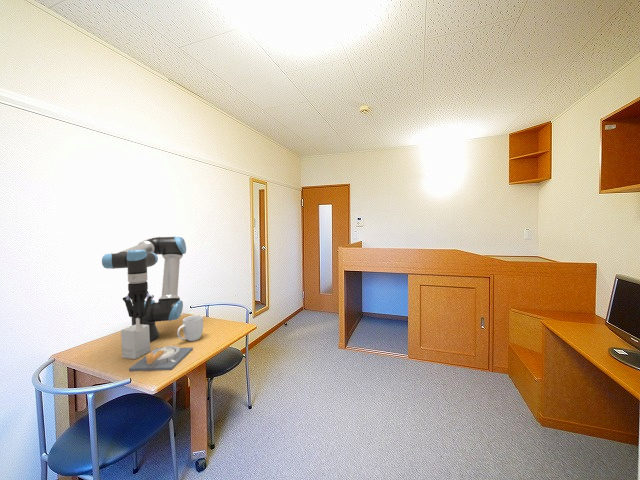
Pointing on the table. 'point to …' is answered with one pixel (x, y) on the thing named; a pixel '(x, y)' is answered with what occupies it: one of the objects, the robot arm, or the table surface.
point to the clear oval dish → (159, 354)
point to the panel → (161, 366)
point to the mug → (192, 327)
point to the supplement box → (135, 342)
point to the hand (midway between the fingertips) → (139, 330)
